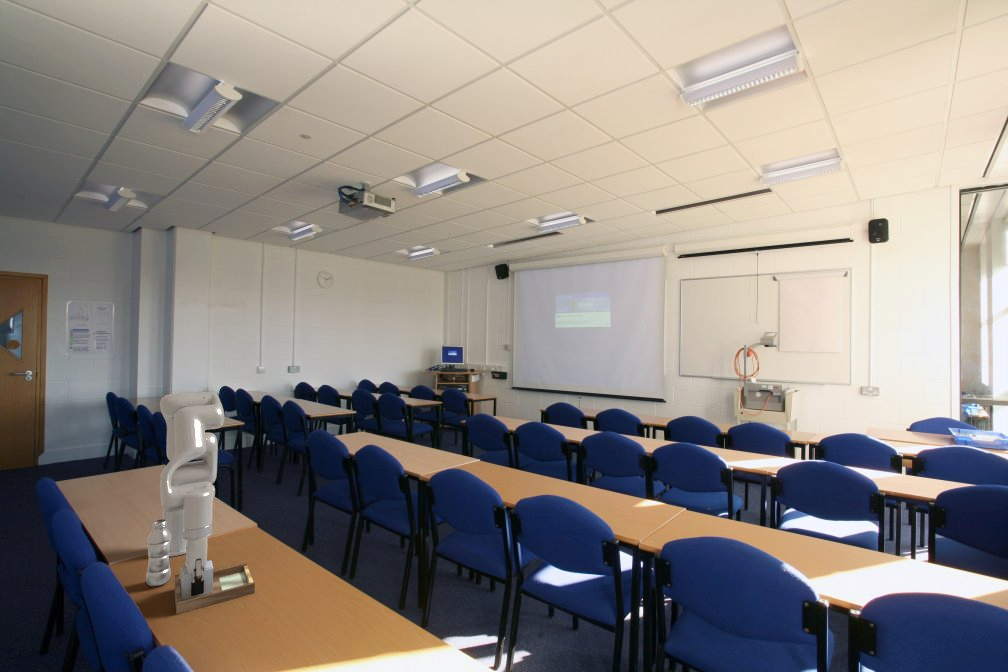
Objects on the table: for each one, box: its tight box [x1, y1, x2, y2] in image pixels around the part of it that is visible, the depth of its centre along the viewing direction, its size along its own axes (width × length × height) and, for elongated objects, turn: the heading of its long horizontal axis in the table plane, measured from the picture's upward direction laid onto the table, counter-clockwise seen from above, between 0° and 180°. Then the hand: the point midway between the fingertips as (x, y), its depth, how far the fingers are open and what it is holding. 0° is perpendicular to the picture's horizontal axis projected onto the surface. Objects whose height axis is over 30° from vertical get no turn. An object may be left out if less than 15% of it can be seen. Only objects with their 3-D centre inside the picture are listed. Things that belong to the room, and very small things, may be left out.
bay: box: [173, 562, 256, 616], centre depth 147 cm, size 16×20×5 cm
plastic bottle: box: [145, 518, 172, 587], centre depth 151 cm, size 6×7×20 cm
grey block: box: [179, 559, 214, 601], centre depth 144 cm, size 6×8×8 cm
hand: (196, 588), depth 144 cm, fingers closed on grey block, 6 cm apart
